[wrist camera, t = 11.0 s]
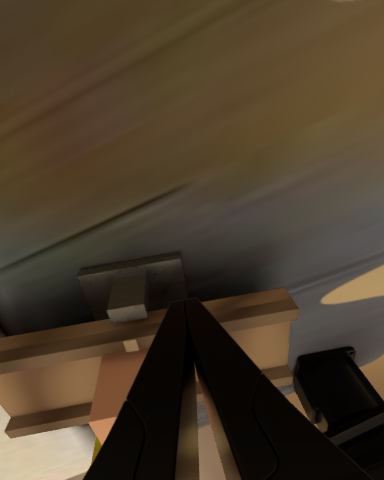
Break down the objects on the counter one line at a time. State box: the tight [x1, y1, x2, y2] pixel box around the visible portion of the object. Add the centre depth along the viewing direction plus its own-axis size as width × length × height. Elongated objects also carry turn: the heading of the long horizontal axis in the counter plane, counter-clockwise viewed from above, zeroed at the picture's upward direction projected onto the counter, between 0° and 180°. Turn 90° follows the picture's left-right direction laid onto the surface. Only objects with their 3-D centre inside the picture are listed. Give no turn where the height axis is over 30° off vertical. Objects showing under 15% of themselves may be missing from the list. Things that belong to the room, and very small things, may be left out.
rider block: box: [88, 347, 150, 445], centre depth 17 cm, size 5×4×4 cm
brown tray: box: [0, 287, 299, 438], centre depth 20 cm, size 22×8×2 cm, turn 97°
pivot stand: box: [77, 252, 188, 324], centre depth 22 cm, size 8×12×5 cm, turn 8°
